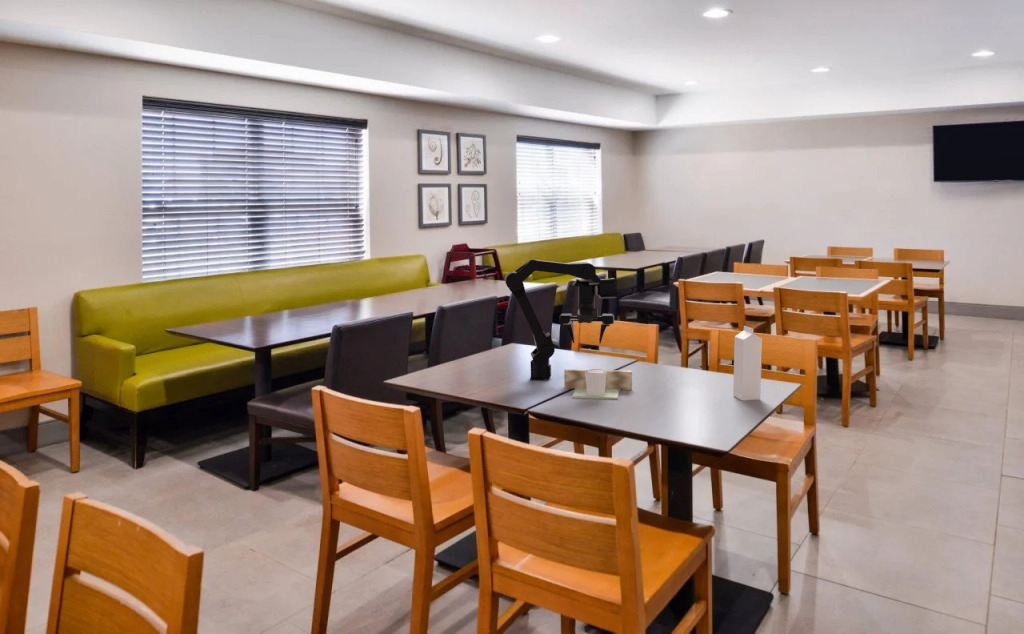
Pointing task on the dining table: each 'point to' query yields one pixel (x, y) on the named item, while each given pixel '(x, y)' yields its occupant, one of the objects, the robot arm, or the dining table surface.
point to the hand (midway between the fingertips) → (586, 343)
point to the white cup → (595, 381)
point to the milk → (747, 365)
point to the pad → (607, 395)
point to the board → (613, 379)
